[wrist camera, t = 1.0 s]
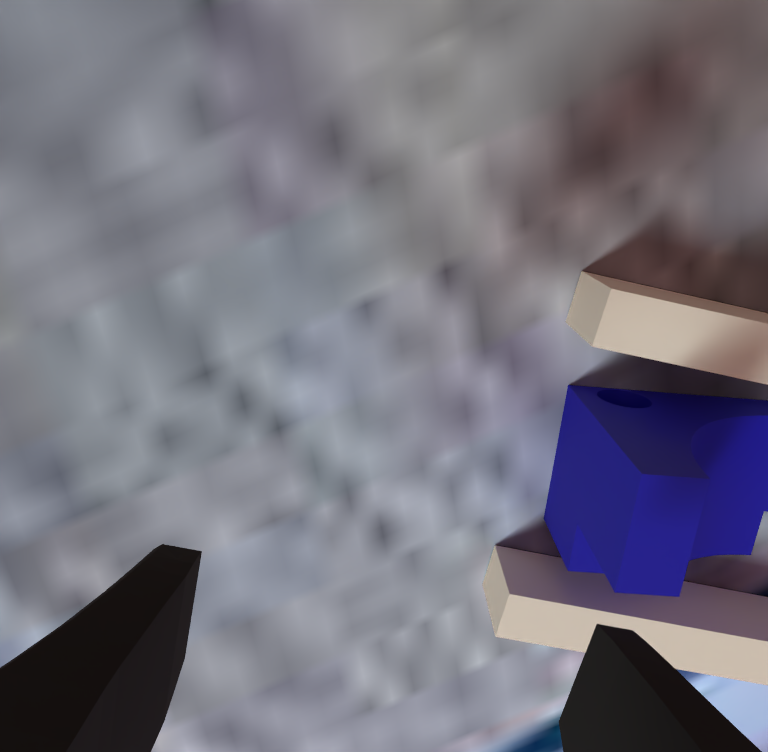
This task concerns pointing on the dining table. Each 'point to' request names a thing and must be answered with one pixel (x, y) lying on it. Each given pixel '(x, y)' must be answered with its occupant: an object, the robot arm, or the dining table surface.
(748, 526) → the cable clip
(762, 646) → the lane
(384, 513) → the dining table surface
